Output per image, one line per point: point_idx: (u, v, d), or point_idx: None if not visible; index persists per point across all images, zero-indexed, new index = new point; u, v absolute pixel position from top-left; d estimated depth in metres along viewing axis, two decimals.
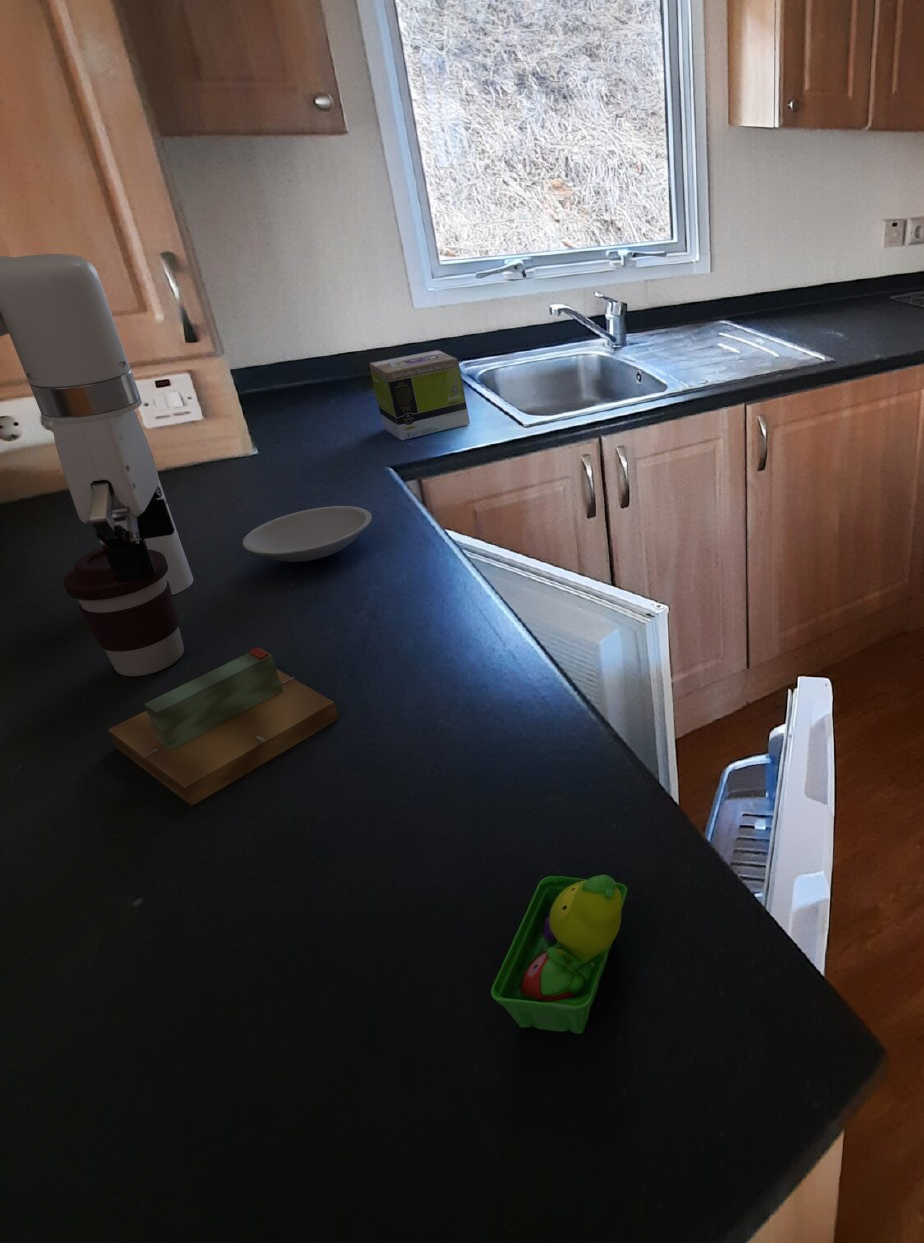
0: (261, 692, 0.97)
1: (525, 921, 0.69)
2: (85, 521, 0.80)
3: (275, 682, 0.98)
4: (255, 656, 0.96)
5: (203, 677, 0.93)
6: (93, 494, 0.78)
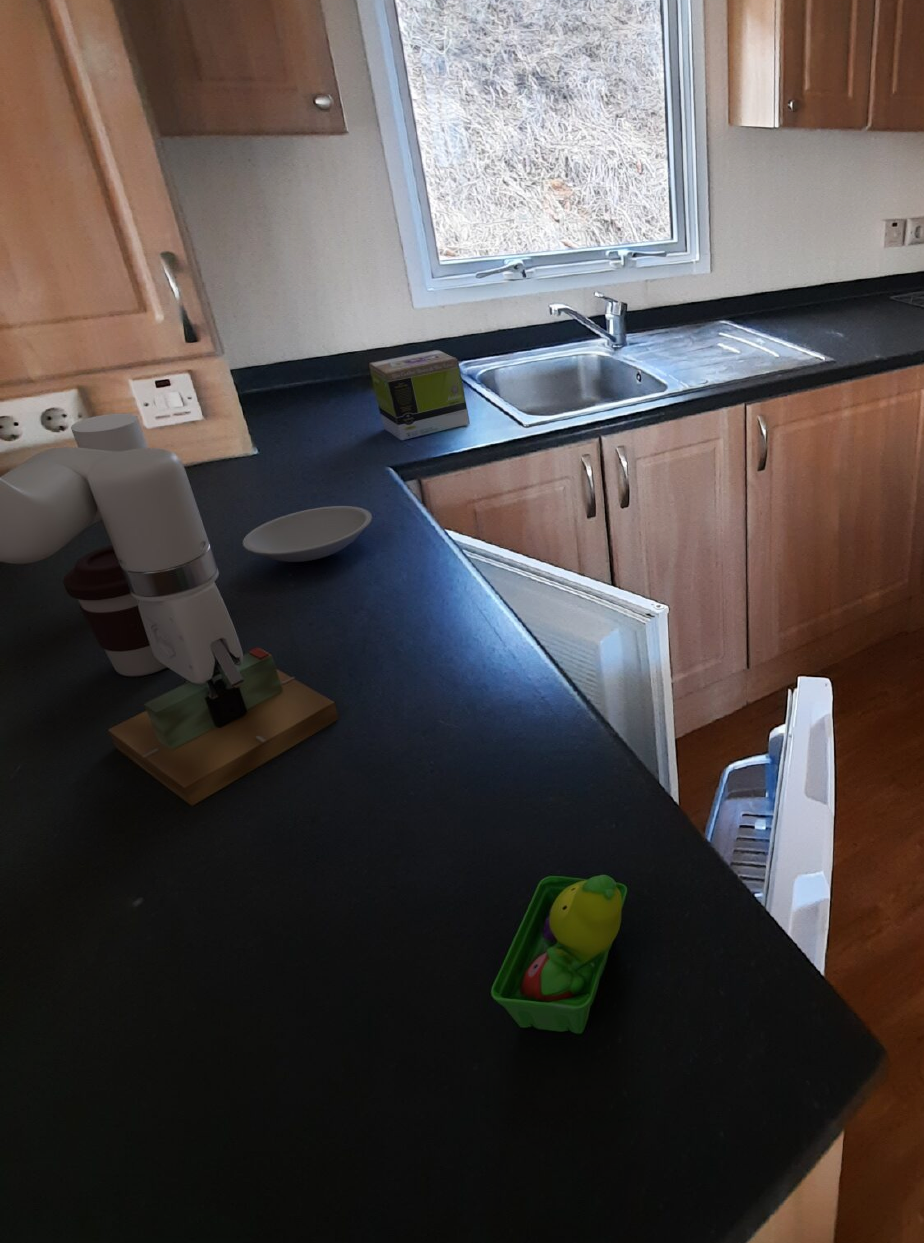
0: (261, 692, 0.97)
1: (525, 921, 0.69)
2: (204, 681, 0.87)
3: (275, 682, 0.98)
4: (255, 656, 0.96)
5: None
6: (219, 661, 0.88)
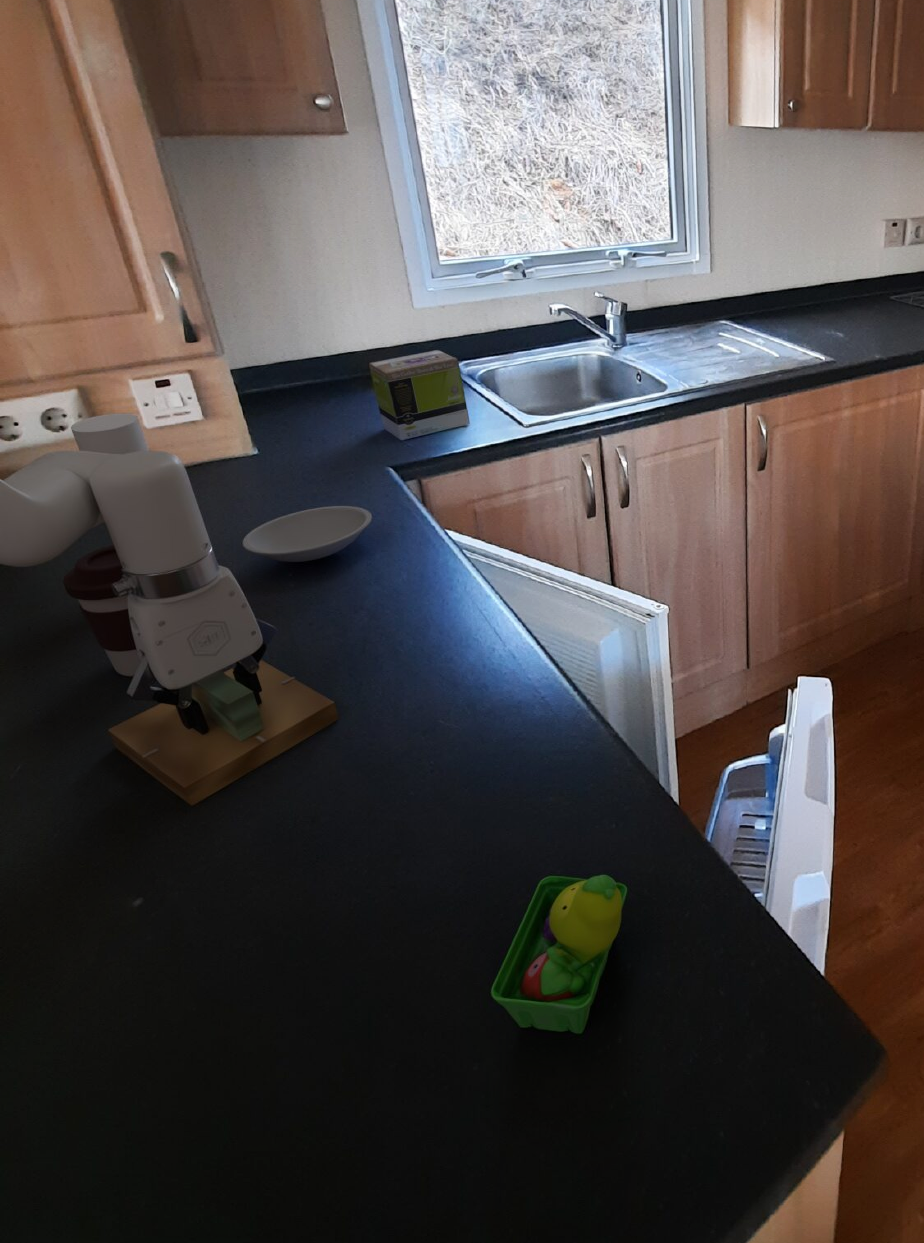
0: None
1: (525, 921, 0.69)
2: (262, 641, 0.94)
3: None
4: None
5: (204, 683, 0.92)
6: (255, 618, 0.95)
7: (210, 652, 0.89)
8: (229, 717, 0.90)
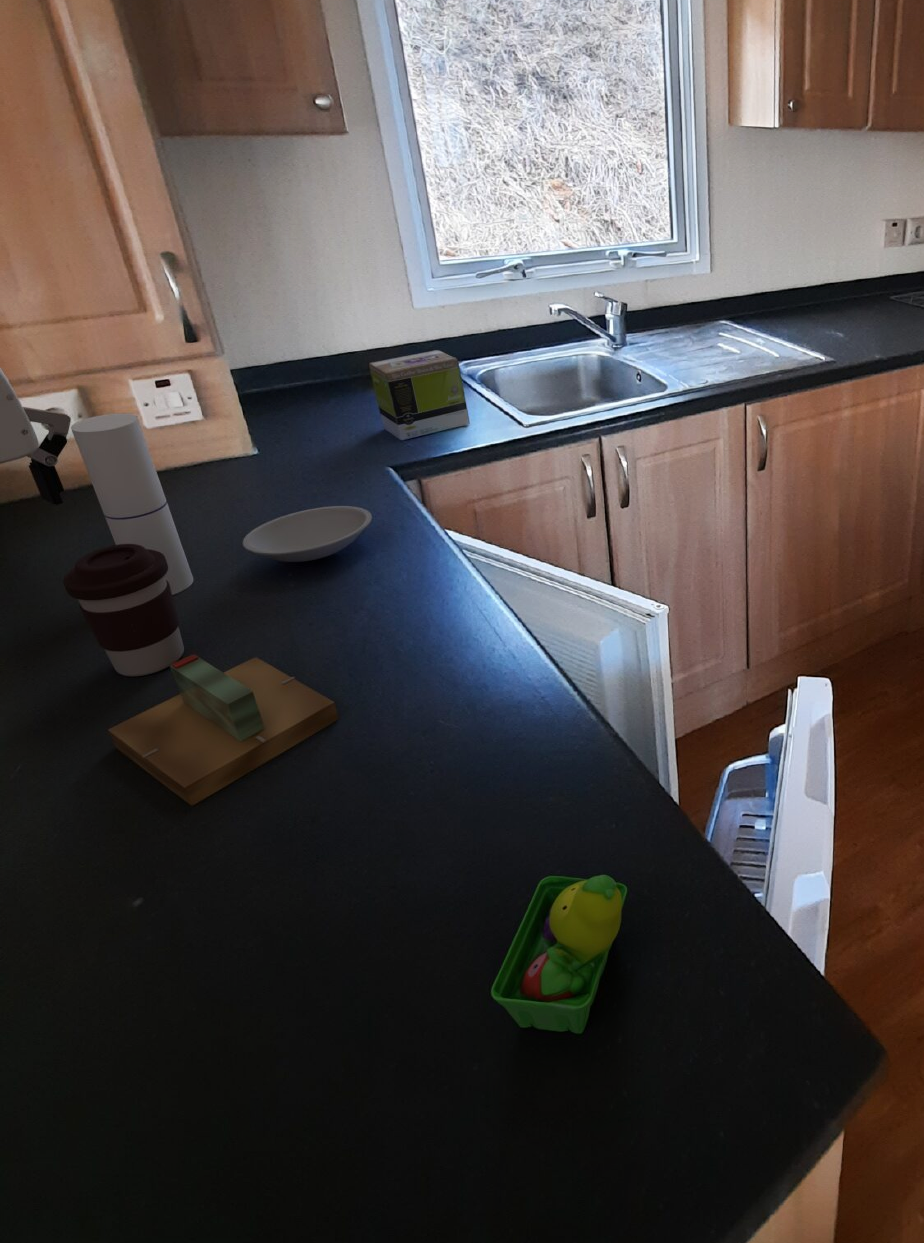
0: None
1: (525, 921, 0.69)
2: (38, 445, 0.84)
3: None
4: (186, 663, 0.95)
5: (204, 683, 0.92)
6: (33, 409, 0.85)
7: None
8: (229, 717, 0.90)
